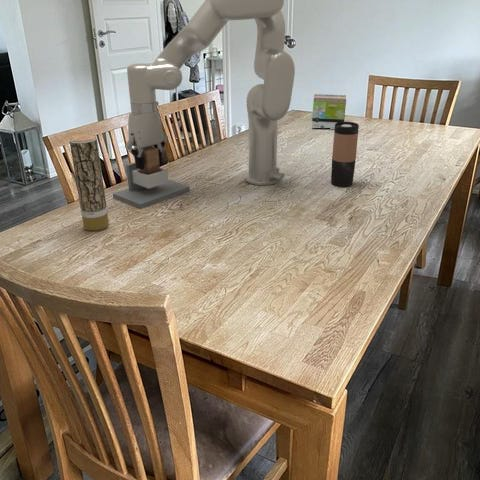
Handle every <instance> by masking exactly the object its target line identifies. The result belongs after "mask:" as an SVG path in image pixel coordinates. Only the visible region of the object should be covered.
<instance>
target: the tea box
mask: <svg viewBox="0 0 480 480" xmlns="http://www.w3.org/2000/svg"><path fill="white" fill-rule="evenodd" d="M346 106H347V96H346V95H345V94H344V95H343V94H339V95H338V94H319V93H318V94H317V93H315V94H314V97H313V106H312V117H311V129H312V128H331V129H330V130H332V129H335V124H336V123H338V122H345V119H346V118H345V116H346Z"/></svg>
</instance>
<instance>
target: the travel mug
mask: <svg viewBox="0 0 480 480" xmlns="http://www.w3.org/2000/svg"><path fill="white" fill-rule="evenodd" d="M359 127H360V126H359V124H358V123H356V122H352V121H344V122H338V123H336V124H335V130H333V131H334V132H333V144H332V155H331V171H330V173H331V177H330V178H331V179H330V183H331V185H332V186H334V187H336V186H337V188H349V187H351V186H353V183H354V177H355V169H356V168H355V167H356V162H357V161H356V159H357V148H358V139H359V138H358V137H359V129H360V128H359Z"/></svg>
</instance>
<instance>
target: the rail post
mask: <svg viewBox="0 0 480 480" xmlns="http://www.w3.org/2000/svg"><path fill="white" fill-rule="evenodd" d="M141 157H143V162H144V169H143V170H141V169H140V173H143V174H146V175H150V174H153V173H156V172H160V168H161V167H160V165H161V164H159V153H158V148H155V147H153V146H148V147H144V148H143V150H142V155H141Z"/></svg>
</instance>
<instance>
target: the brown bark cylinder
mask: <svg viewBox="0 0 480 480" xmlns="http://www.w3.org/2000/svg"><path fill="white" fill-rule="evenodd" d="M68 140H69V146H70V152H71V153H70V154H71V159H72V164H73V172H74V176H75V183H76V188H77V189H76V190H77V195H78V201H79V206H80V213H81V219H82V225H83V228H84V229H85V230H87V231H89V232H90V231H91V232H99V231H102V230H105V229H107V228H108V227H109V225H110V224H109V216H108V207H107V200H106V194H105V193H106V192H105V187H104V186H105V185H104V179H103V178H104V177H103V172H102V164H101V159H100V150H99V144H98V143H99V142H98V138H97V135H95V134H91V133H90V134H87V133H86V134H76V135H73V136H71V137H69V139H68ZM98 230H99V231H98Z"/></svg>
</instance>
